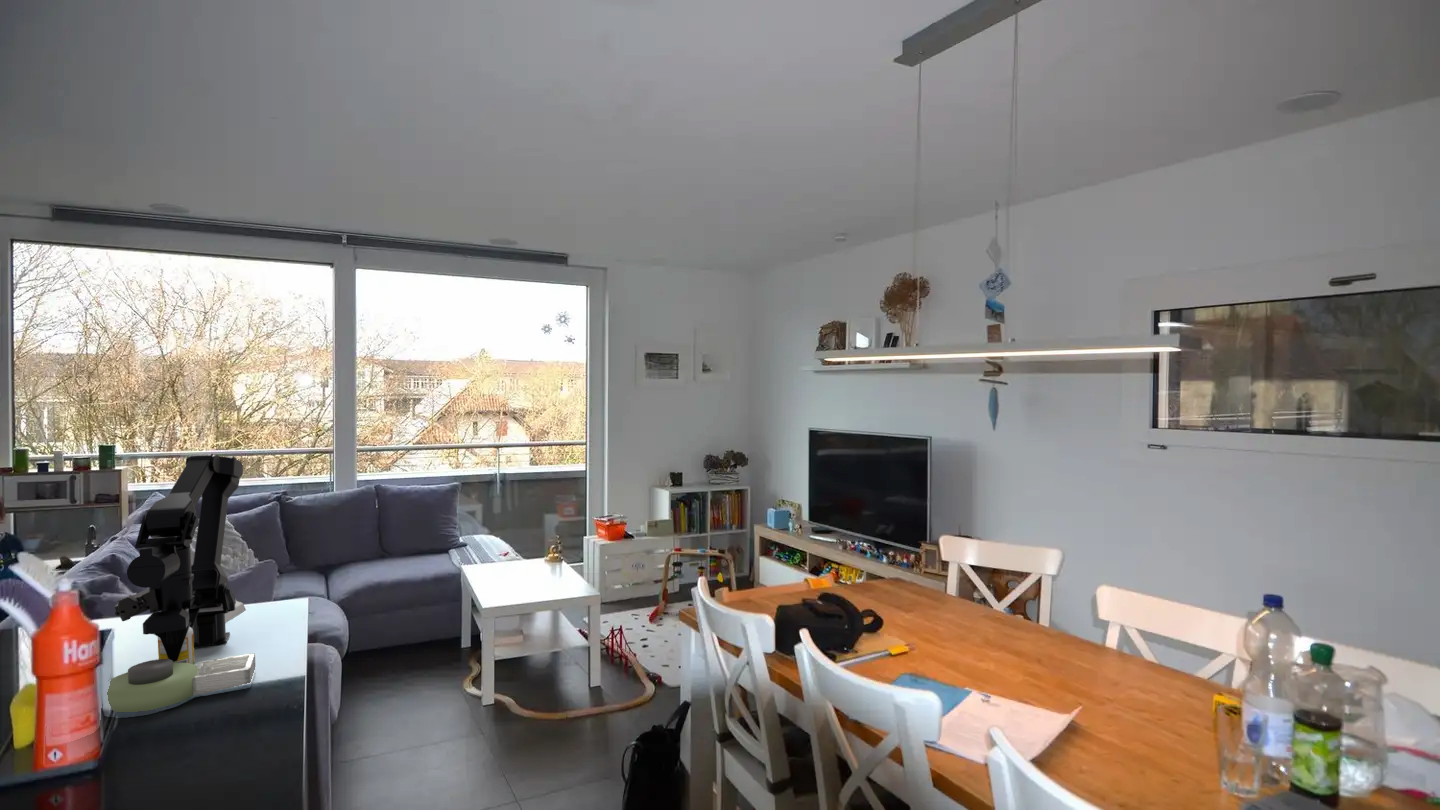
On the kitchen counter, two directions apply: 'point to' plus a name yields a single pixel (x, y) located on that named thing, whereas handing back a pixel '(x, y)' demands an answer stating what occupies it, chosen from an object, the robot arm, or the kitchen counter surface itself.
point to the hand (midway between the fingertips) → (176, 656)
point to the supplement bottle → (186, 651)
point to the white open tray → (223, 673)
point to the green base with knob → (151, 686)
